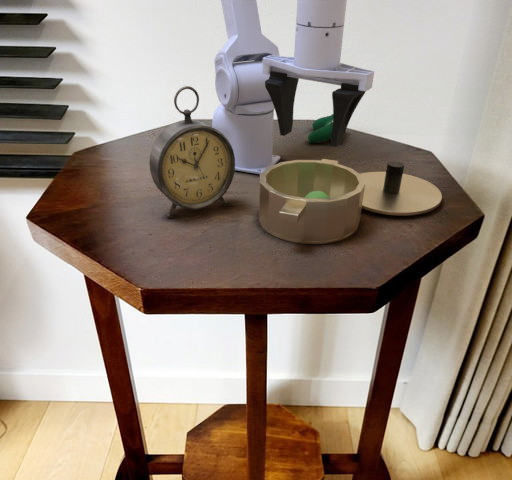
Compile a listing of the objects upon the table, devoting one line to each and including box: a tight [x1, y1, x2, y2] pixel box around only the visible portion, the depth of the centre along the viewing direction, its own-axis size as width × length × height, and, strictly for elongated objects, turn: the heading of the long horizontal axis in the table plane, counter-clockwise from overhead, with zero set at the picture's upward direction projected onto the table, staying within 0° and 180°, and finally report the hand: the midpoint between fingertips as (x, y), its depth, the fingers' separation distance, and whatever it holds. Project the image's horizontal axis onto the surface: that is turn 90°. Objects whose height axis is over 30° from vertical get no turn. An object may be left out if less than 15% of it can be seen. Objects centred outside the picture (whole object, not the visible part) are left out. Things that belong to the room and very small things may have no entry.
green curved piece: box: [307, 113, 333, 144], centre depth 100 cm, size 9×4×6 cm
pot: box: [258, 158, 365, 245], centre depth 73 cm, size 14×19×6 cm
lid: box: [359, 160, 443, 216], centre depth 79 cm, size 15×15×5 cm
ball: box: [305, 191, 330, 199], centre depth 73 cm, size 4×4×4 cm
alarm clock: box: [149, 85, 236, 219], centre depth 72 cm, size 11×5×16 cm, turn 118°
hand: (310, 139), depth 73 cm, fingers open, 7 cm apart
